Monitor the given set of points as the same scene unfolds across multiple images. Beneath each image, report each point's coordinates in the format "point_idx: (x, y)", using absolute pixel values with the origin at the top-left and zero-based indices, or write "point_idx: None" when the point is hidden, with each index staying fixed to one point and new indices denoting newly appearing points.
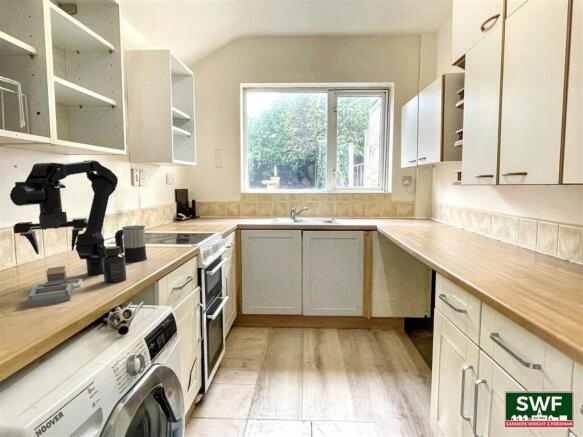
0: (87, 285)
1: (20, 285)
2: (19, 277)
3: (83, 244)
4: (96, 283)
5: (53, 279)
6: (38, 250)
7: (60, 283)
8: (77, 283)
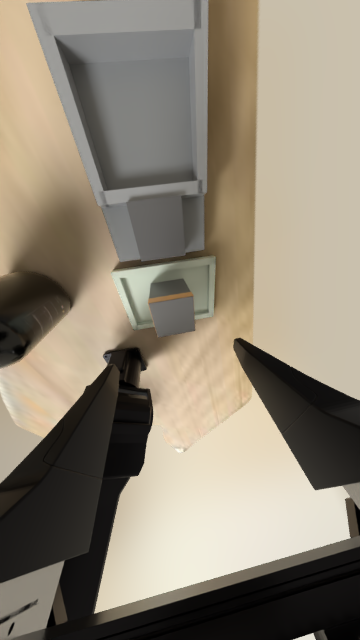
0: (110, 295)
1: (234, 336)
2: (237, 372)
3: (120, 424)
4: (94, 304)
5: (174, 287)
6: (239, 357)
7: (129, 201)
8: (134, 306)
